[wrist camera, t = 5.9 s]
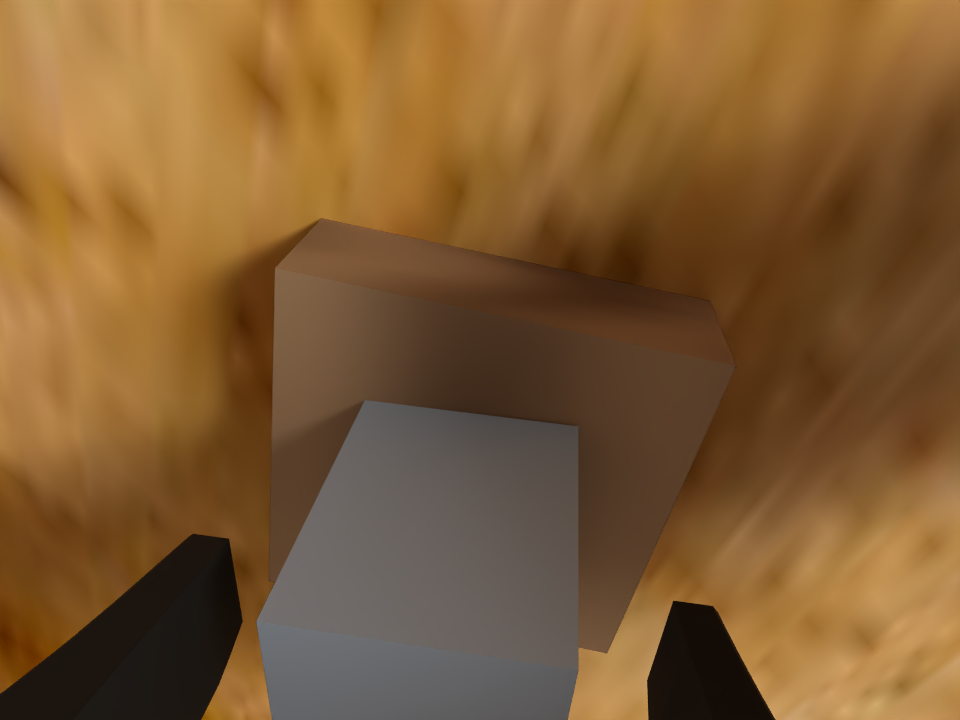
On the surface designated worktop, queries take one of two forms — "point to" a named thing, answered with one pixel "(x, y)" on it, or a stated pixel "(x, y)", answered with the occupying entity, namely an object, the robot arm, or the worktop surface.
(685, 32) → the worktop surface
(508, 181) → the worktop surface
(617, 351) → the walnut block
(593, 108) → the worktop surface
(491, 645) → the gray block
